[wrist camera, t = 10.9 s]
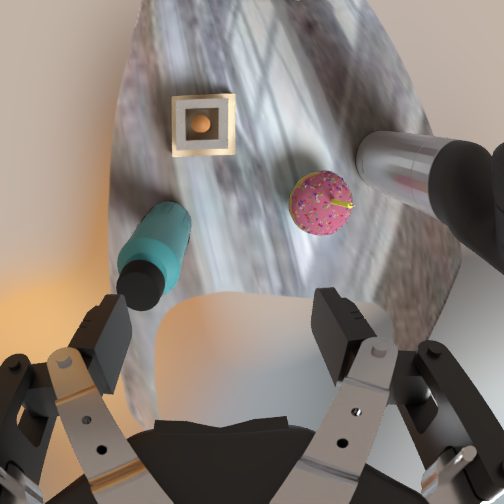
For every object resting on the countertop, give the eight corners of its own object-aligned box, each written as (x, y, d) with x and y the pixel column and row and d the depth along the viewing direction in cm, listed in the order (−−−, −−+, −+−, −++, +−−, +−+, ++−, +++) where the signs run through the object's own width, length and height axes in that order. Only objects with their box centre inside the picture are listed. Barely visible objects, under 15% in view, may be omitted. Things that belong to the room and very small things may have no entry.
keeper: (234, 95, 35) (237, 88, 29) (234, 153, 38) (237, 158, 32) (174, 98, 34) (164, 91, 28) (174, 155, 37) (165, 161, 31)
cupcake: (304, 155, 39) (335, 166, 28) (350, 187, 42) (391, 208, 31) (271, 206, 42) (290, 235, 31) (318, 234, 44) (349, 270, 33)
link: (227, 101, 34) (228, 98, 30) (227, 147, 36) (228, 148, 33) (179, 103, 33) (175, 100, 30) (180, 148, 35) (176, 150, 32)
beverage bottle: (156, 191, 39) (105, 244, 21) (200, 206, 41) (185, 272, 22) (143, 232, 41) (94, 310, 23) (186, 247, 43) (165, 334, 24)
